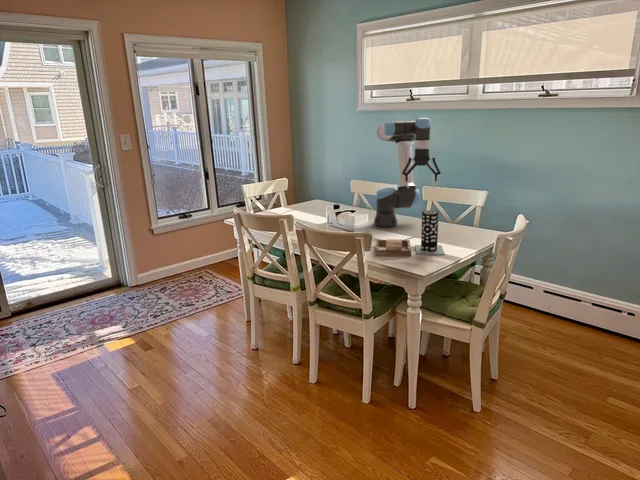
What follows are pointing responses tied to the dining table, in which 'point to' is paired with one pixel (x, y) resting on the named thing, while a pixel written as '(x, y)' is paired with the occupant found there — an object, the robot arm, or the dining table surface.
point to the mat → (421, 252)
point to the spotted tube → (429, 231)
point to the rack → (393, 252)
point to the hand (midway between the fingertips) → (420, 187)
